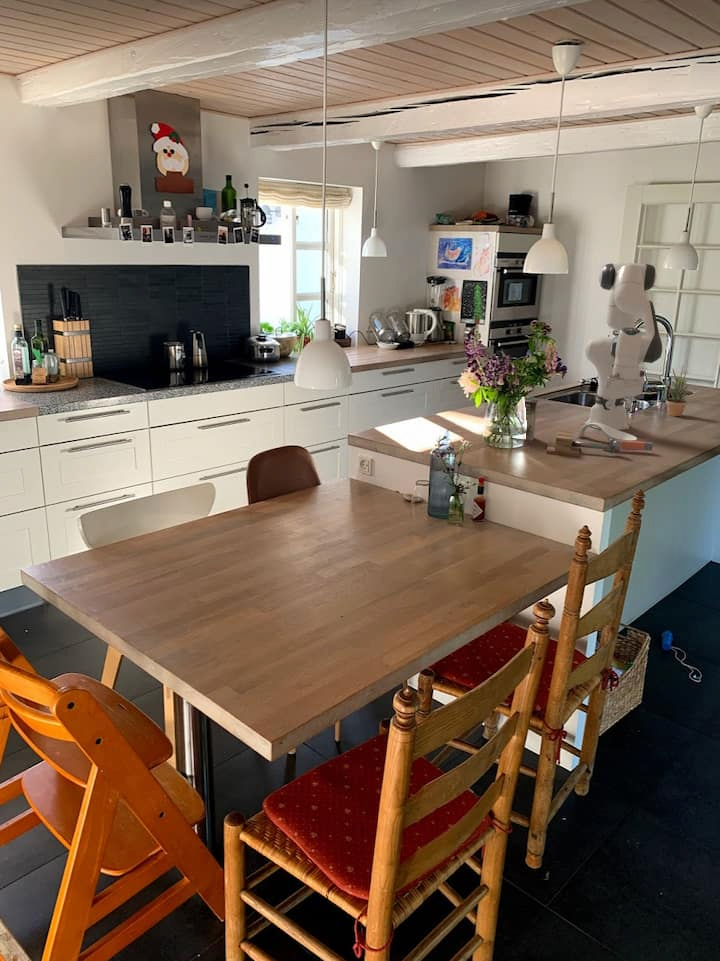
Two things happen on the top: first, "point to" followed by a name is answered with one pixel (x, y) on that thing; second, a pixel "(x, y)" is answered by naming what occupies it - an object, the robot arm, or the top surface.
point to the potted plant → (677, 396)
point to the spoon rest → (608, 432)
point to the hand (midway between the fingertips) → (620, 409)
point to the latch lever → (636, 445)
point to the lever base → (610, 444)
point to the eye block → (563, 445)
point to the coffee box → (530, 417)
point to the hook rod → (600, 446)
